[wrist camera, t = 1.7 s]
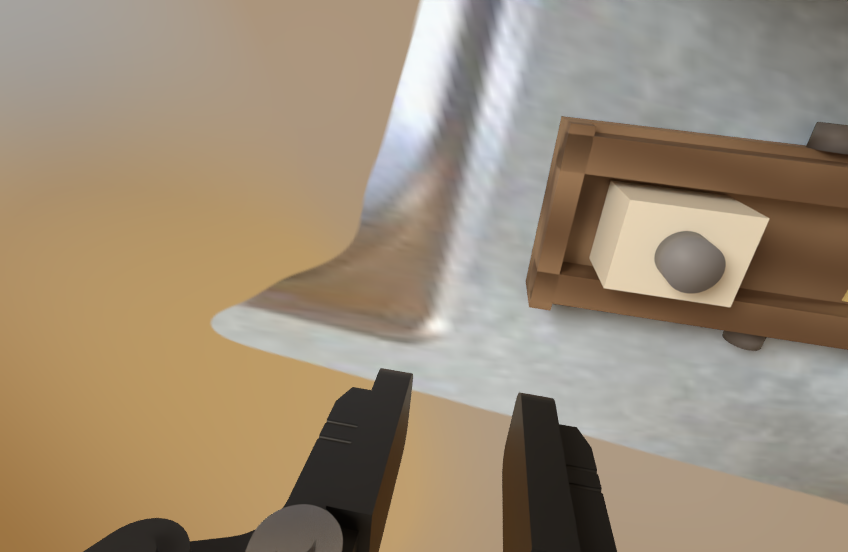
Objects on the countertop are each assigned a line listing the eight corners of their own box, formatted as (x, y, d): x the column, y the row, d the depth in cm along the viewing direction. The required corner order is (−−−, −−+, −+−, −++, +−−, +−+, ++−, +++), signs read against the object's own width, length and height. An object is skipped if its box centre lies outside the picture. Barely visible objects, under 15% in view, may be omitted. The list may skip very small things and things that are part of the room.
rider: (610, 180, 24) (640, 209, 19) (728, 195, 24) (790, 230, 19) (589, 257, 26) (610, 303, 21) (697, 273, 26) (746, 324, 21)
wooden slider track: (566, 92, 24) (577, 96, 21) (1113, 155, 22) (1221, 171, 19) (522, 297, 30) (525, 326, 26) (959, 366, 27) (1023, 407, 24)
